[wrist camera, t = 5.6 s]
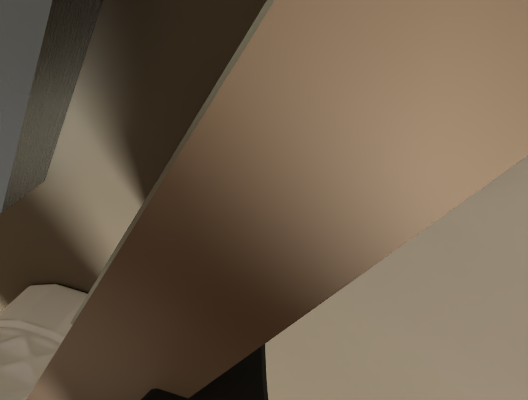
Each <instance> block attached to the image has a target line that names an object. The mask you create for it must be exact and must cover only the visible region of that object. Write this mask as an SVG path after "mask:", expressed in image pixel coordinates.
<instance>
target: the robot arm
mask: <svg viewBox="0 0 528 400" xmlns="http://www.w3.org/2000/svg"><path fill="white" fill-rule="evenodd" d="M141 400H268V393H267V380H266V359H265V344H264V345H262V346H261V347H259V348H258V349H257V350H255V351H254V352H252V353H251V354H250V355H248V356H247V357H245V358H244V359H243V360H241V361H240V362H238V363H237V364H236V365H234V366H233V367H231V368H230V369H229V370H227V371H226V372H224V373H223V374H222V375H220V376H219V377H217V378H216V379H215V380H213V381H212V382H210V383H209V384H208V385H206V386H205V387H203V388H202V389H201V390H199V391H198V392H196V393H195V394H194V395H192V396H191V397H189V398H185V397H182V396H179V395H176V394H173V393H170V392H167V391H164V390H161V389H158V388H155V389H151V390H150V391H149V392H148V393H147V394H146V395H145V396H144V397H143V398H142V399H141Z"/></svg>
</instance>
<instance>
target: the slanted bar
mask: <svg viewBox="0 0 528 400" xmlns="http://www.w3.org/2000/svg"><path fill="white" fill-rule="evenodd" d="M102 1H103V0H0V213H2V212H3V211H5V210H6V209H7V208H9V207H10V206H11V205H13V204H14V203H15V202H17V201H18V200H19V199H21V198H22V197H23V196H25V195H26V194H27V193H29V192H30V191H31V190H33V189H34V188H36V187H37V186H38V185H40V184H41V183H42V182H44V180H45V177H46V174H47V171H48V168H49V165H50V162H51V158H52V155H53V152H54V149H55V146H56V143H57V140H58V137H59V134H60V131H61V128H62V124H63V121H64V118H65V115H66V112H67V109H68V106H69V103H70V100H71V97H72V94H73V91H74V87H75V84H76V81H77V78H78V75H79V72H80V69H81V66H82V63H83V60H84V57H85V53H86V50H87V47H88V44H89V41H90V38H91V35H92V32H93V29H94V26H95V23H96V19H97V16H98V13H99V10H100V7H101V4H102Z"/></svg>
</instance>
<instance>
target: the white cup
mask: <svg viewBox="0 0 528 400" xmlns="http://www.w3.org/2000/svg"><path fill="white" fill-rule="evenodd" d="M87 295H88V294H87V293H84V292H81V291H77V290H74V289H71V288H68V287H64V286H61V285H57V284H47V285H31V286H29V287H28V288H26V289H25V290H24V291H23V292H22V293H20V294H19V295H18V296H17V297H16V298H15V299H13V300H12V301H11V302H10V303H9V304H8V305H7V306H6V307H5V308H4V309H3V310H2V311H1V312H0V400H26V399H27V398H28V396H29V394H30V393H31V391H32V390H33V388H34V386H35V385H36V383H37V382H38V380H39V378H40V377H41V375H42V374H43V372H44V370H45V369H46V367H47V365H48V364H49V362H50V361H51V359H52V357H53V356H54V354H55V353H56V351H57V349H58V348H59V346H60V345H61V343H62V341H63V340H64V338H65V337H66V335H67V333H68V332H69V330H70V329H71V327H72V324H70V323H71V321H72V319H73V318H74V316H75V314H76V313H77V311H78V309H79V308H80V306H81V305H82V303H83V301H84V300H85V298H86V296H87Z"/></svg>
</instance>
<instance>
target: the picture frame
mask: <svg viewBox="0 0 528 400" xmlns="http://www.w3.org/2000/svg"><path fill="white" fill-rule="evenodd" d="M526 156H528V0H267V1H266V3H265V4H264V6H263V8H262V9H261V11H260V12H259V14H258V16H257V17H256V19H255V21H254V22H253V24H252V26H251V27H250V29H249V31H248V32H247V34H246V35H245V37H244V39H243V40H242V42H241V44H240V45H239V47H238V49H237V50H236V52H235V53H234V55H233V57H232V58H231V60H230V62H229V63H228V65H227V67H226V68H225V70H224V72H223V73H222V75H221V76H220V78H219V80H218V81H217V83H216V85H215V86H214V88H213V90H212V91H211V93H210V95H209V96H208V98H207V99H206V101H205V103H204V104H203V106H202V108H201V109H200V111H199V113H198V114H197V116H196V117H195V119H194V121H193V122H192V124H191V126H190V127H189V129H188V131H187V132H186V134H185V136H184V137H183V139H182V140H181V142H180V144H179V145H178V147H177V149H176V150H175V152H174V154H173V155H172V157H171V159H170V160H169V162H168V163H167V165H166V167H165V168H164V170H163V172H162V173H161V175H160V177H159V178H158V180H157V181H156V183H155V185H154V186H153V188H152V190H151V191H150V193H149V195H148V196H147V198H146V200H145V201H144V203H143V204H142V206H141V208H140V209H139V211H138V213H137V214H136V216H135V218H134V219H133V221H132V223H131V224H130V226H129V227H128V229H127V231H126V232H125V234H124V236H123V237H122V239H121V241H120V242H119V244H118V245H117V247H116V249H115V250H114V252H113V254H112V255H111V257H110V259H109V260H108V262H107V264H106V265H105V267H104V268H103V270H102V272H101V273H100V275H99V277H98V278H97V280H96V282H95V283H94V285H93V287H92V288H91V290H90V291H89V293H88V295H87V296H86V298H85V300H84V301H83V303H82V305H81V306H80V308H79V309H78V311H77V313H76V314H75V316H74V318H73V319H72V321H71V323H70V324H72V327H71V329H70V330H69V332H68V333H67V335H66V337H65V338H64V340H63V341H62V343H61V345H60V346H59V348H58V349H57V351H56V353H55V354H54V356H53V357H52V359H51V361H50V362H49V364H48V365H47V367H46V369H45V370H44V372H43V374H42V375H41V377H40V378H39V380H38V382H37V383H36V385H35V386H34V388H33V390H32V391H31V393H30V394H29V396H28V398H27V399H26V400H141V399H142V398H143V397H144V396H145V395H146V394H147V393H148V392H149V391H150V390H151V389H155V388H158V389H161V390H164V391H167V392H170V393H173V394H176V395H179V396H182V397H185V398H189V397H191V396H192V395H194V394H195V393H196V392H198V391H199V390H201V389H202V388H203V387H205V386H206V385H208V384H209V383H210V382H212V381H213V380H215V379H216V378H217V377H219V376H220V375H222V374H223V373H224V372H226V371H227V370H229V369H230V368H231V367H233V366H234V365H236V364H237V363H238V362H240V361H241V360H243V359H244V358H245V357H247V356H248V355H250V354H251V353H252V352H254V351H255V350H257V349H258V348H259V347H261V346H262V345H264V344H265V343H266V342H268V341H269V340H271V339H272V338H273V337H275V336H276V335H278V334H279V333H280V332H282V331H283V330H285V329H286V328H287V327H289V326H290V325H292V324H293V323H294V322H296V321H297V320H298V319H300V318H301V317H303V316H304V315H305V314H307V313H308V312H310V311H311V310H312V309H314V308H315V307H317V306H318V305H319V304H321V303H322V302H324V301H325V300H326V299H328V298H329V297H331V296H332V295H333V294H335V293H336V292H338V291H339V290H340V289H342V288H343V287H345V286H346V285H347V284H349V283H350V282H352V281H353V280H354V279H356V278H357V277H359V276H360V275H361V274H363V273H364V272H366V271H367V270H368V269H370V268H371V267H373V266H374V265H375V264H377V263H378V262H380V261H381V260H382V259H384V258H385V257H387V256H388V255H389V254H391V253H392V252H394V251H395V250H396V249H398V248H399V247H400V246H402V245H403V244H405V243H406V242H407V241H409V240H410V239H412V238H413V237H414V236H416V235H417V234H419V233H420V232H421V231H423V230H424V229H426V228H427V227H428V226H430V225H431V224H433V223H434V222H435V221H437V220H438V219H440V218H441V217H442V216H444V215H445V214H447V213H448V212H449V211H451V210H452V209H454V208H455V207H456V206H458V205H459V204H461V203H462V202H463V201H465V200H466V199H468V198H469V197H470V196H472V195H473V194H475V193H476V192H477V191H479V190H480V189H482V188H483V187H484V186H486V185H487V184H489V183H490V182H491V181H493V180H494V179H496V178H497V177H498V176H500V175H501V174H502V173H504V172H505V171H507V170H508V169H509V168H511V167H512V166H514V165H515V164H516V163H518V162H519V161H521V160H522V159H523V158H525V157H526Z"/></svg>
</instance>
